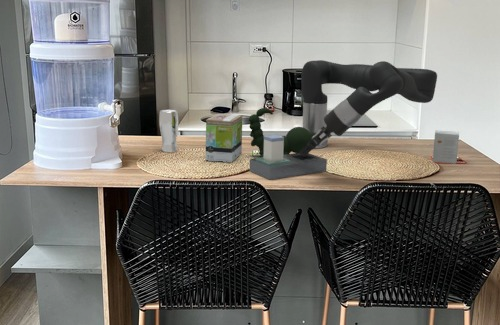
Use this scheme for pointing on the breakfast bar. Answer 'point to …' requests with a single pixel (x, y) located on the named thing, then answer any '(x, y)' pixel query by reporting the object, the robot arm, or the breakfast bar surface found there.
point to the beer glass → (169, 130)
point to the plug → (273, 148)
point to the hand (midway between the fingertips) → (304, 151)
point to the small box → (445, 146)
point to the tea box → (223, 137)
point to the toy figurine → (292, 140)
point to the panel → (288, 166)
